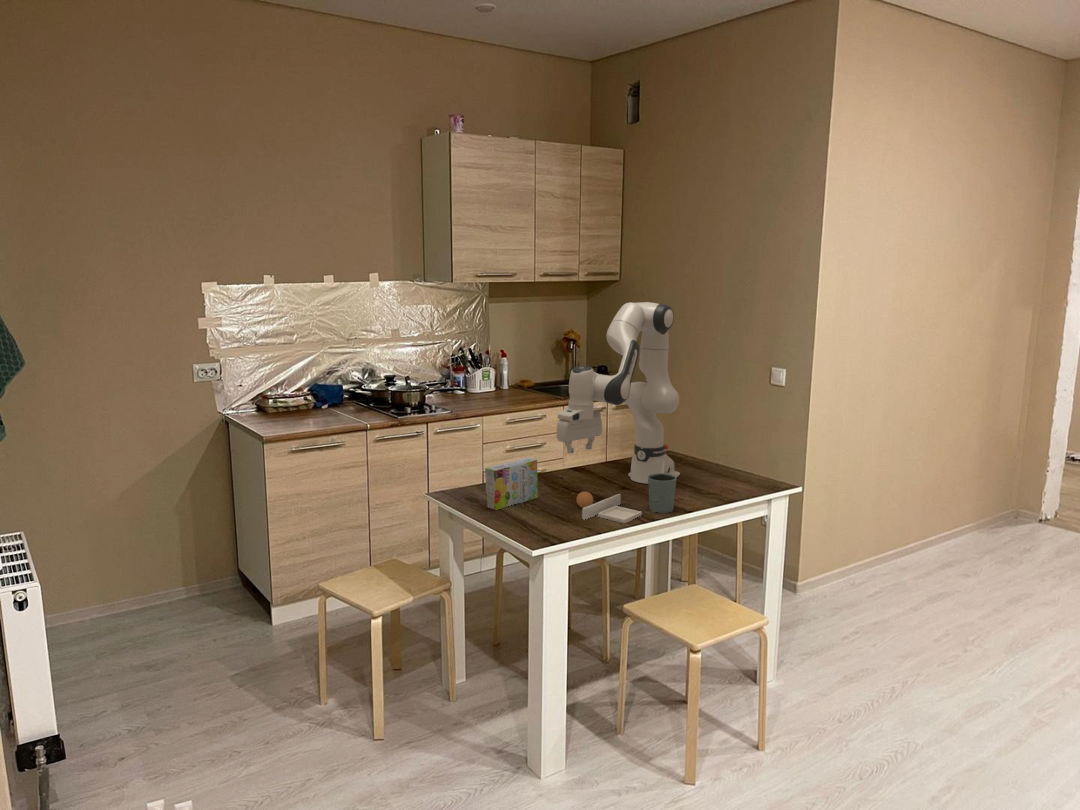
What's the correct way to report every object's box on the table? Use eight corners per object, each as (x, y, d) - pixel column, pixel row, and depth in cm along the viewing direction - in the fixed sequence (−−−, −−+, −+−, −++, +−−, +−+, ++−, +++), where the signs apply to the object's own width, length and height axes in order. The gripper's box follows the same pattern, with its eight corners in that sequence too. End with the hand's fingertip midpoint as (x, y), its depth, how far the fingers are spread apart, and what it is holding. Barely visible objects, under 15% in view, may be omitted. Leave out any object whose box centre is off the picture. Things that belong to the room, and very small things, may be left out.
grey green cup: (650, 514, 282) (651, 481, 280) (644, 505, 292) (645, 473, 290) (678, 513, 283) (679, 480, 281) (671, 504, 293) (672, 472, 291)
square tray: (615, 509, 287) (615, 505, 287) (641, 515, 280) (641, 511, 280) (597, 517, 279) (597, 513, 279) (624, 523, 272) (624, 519, 272)
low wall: (618, 504, 293) (618, 493, 292) (620, 504, 292) (620, 494, 292) (582, 519, 276) (582, 508, 276) (584, 520, 276) (584, 509, 275)
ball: (583, 504, 293) (583, 488, 292) (596, 507, 290) (596, 491, 288) (573, 508, 289) (573, 492, 288) (586, 511, 285) (586, 495, 284)
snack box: (528, 495, 304) (527, 456, 302) (538, 498, 300) (538, 459, 298) (485, 507, 290) (484, 467, 287) (495, 511, 286) (495, 470, 283)
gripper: (593, 408, 292) (592, 445, 295) (554, 414, 278) (553, 453, 281) (607, 410, 288) (605, 448, 290) (567, 417, 274) (566, 456, 276)
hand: (579, 451), depth 285 cm, fingers open, 8 cm apart
